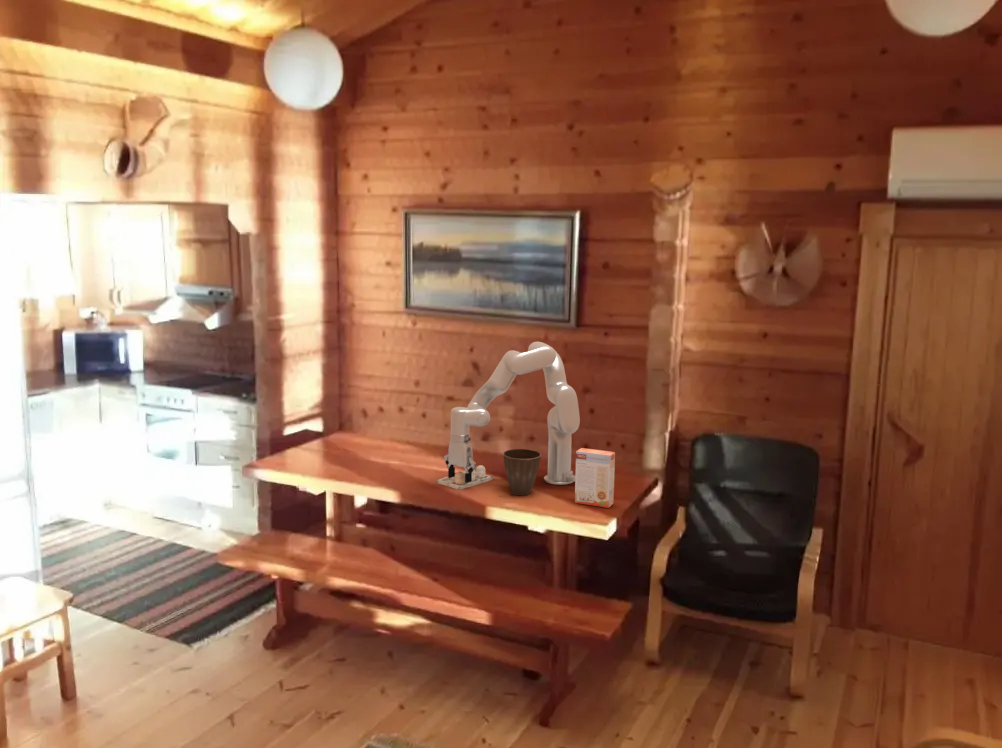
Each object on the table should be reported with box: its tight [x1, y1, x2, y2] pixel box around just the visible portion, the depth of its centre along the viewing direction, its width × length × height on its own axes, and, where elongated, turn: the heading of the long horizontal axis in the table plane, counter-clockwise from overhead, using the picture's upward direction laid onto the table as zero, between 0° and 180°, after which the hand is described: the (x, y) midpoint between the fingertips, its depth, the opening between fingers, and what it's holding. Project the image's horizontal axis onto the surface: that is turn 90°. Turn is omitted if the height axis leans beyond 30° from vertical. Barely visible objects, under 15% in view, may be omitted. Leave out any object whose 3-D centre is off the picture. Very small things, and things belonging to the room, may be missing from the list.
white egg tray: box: [436, 471, 494, 491], centre depth 358 cm, size 13×19×2 cm
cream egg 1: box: [468, 469, 476, 483], centre depth 355 cm, size 4×4×6 cm
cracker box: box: [574, 447, 616, 509], centre depth 333 cm, size 14×6×21 cm, turn 63°
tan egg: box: [455, 471, 465, 486], centre depth 351 cm, size 4×4×6 cm
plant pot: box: [502, 448, 542, 496], centre depth 346 cm, size 15×15×16 cm
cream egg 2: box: [475, 464, 486, 479], centre depth 360 cm, size 4×4×6 cm
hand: (459, 479), depth 351 cm, fingers open, 9 cm apart
